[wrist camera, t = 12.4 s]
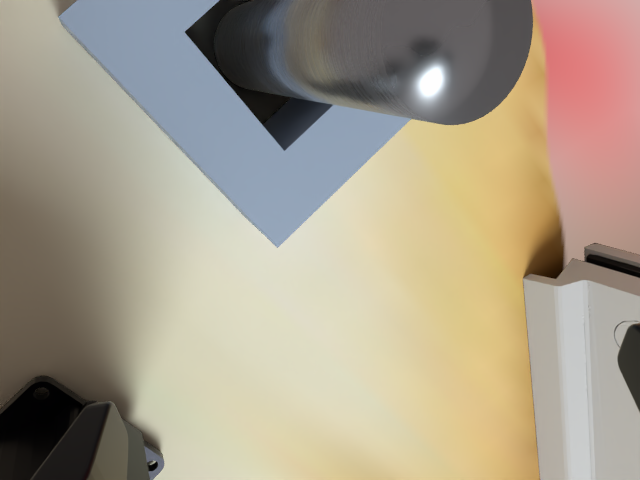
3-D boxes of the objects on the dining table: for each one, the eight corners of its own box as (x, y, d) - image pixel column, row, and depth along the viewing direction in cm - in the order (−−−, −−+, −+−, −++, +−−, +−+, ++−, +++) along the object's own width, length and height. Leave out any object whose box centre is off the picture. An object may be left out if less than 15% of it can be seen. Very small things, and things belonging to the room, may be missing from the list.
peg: (217, 92, 20) (378, 130, 9) (210, 1, 19) (381, -74, 8) (295, 88, 21) (523, 120, 10) (292, 3, 20) (541, -63, 9)
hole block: (245, 217, 22) (277, 247, 19) (62, 25, 18) (58, 16, 14) (406, 64, 23) (466, 65, 19) (266, -155, 19) (309, -204, 15)
